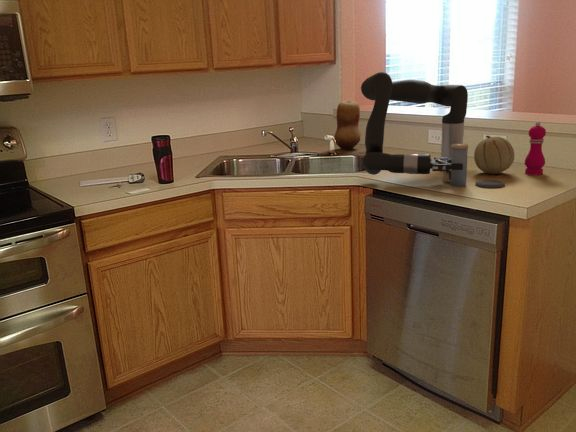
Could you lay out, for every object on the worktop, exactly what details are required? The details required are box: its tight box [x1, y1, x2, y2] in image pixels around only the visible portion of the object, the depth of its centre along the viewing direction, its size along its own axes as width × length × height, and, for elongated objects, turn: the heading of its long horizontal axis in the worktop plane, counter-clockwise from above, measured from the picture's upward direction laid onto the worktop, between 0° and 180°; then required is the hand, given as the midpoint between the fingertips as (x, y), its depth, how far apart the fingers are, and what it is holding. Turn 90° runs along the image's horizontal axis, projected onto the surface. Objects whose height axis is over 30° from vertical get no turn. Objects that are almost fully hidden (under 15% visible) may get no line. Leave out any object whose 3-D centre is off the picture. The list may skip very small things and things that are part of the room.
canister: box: [449, 143, 469, 188], centre depth 194 cm, size 6×6×15 cm
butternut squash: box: [333, 100, 361, 150], centre depth 279 cm, size 14×13×25 cm
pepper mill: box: [524, 121, 547, 176], centre depth 205 cm, size 7×7×20 cm
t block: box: [442, 170, 451, 183], centre depth 203 cm, size 5×5×5 cm
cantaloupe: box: [473, 135, 515, 175], centre depth 209 cm, size 15×15×15 cm
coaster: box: [475, 179, 506, 189], centre depth 194 cm, size 10×10×1 cm
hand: (462, 164), depth 193 cm, fingers open, 8 cm apart
